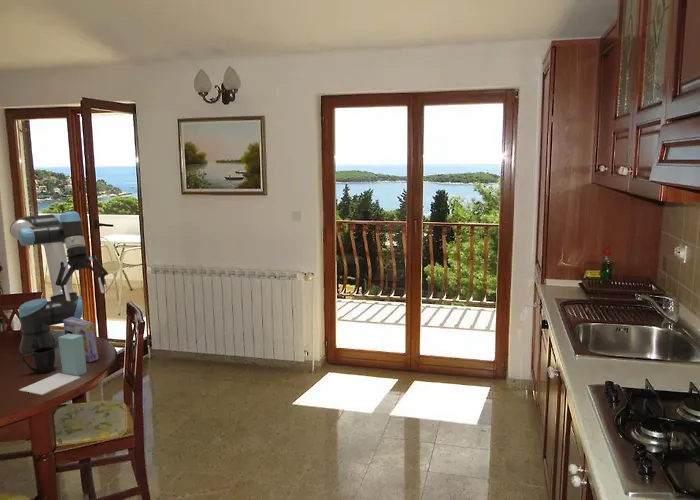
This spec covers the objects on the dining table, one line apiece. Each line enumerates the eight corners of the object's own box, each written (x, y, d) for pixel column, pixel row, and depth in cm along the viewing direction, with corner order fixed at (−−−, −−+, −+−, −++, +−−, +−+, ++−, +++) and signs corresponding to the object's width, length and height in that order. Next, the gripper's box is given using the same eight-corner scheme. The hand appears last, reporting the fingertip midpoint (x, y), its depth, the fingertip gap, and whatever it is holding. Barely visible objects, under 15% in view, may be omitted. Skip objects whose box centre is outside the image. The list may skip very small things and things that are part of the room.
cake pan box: (66, 355, 251) (61, 318, 248) (76, 352, 255) (72, 315, 252) (88, 363, 240) (84, 324, 237) (99, 360, 244) (95, 321, 241)
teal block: (62, 374, 229) (58, 337, 226) (72, 369, 233) (68, 333, 231) (76, 376, 226) (72, 339, 223) (86, 372, 230) (82, 335, 228)
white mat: (19, 390, 213) (18, 389, 213) (58, 373, 229) (58, 373, 229) (42, 395, 208) (41, 394, 208) (80, 377, 224) (80, 376, 224)
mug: (23, 372, 232) (20, 350, 230) (55, 365, 238) (52, 344, 237) (25, 378, 225) (22, 356, 224) (58, 371, 232) (55, 350, 230)
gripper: (41, 253, 226) (50, 303, 223) (104, 239, 231) (114, 288, 228) (47, 256, 233) (57, 304, 230) (109, 243, 238) (119, 290, 235)
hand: (85, 296), depth 229 cm, fingers open, 13 cm apart
